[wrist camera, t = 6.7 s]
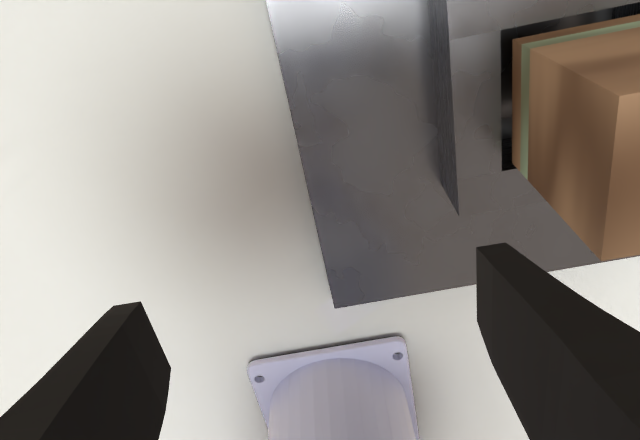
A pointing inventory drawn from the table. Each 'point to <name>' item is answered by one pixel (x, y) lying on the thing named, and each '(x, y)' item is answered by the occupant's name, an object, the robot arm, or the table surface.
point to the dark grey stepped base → (418, 137)
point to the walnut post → (582, 128)
